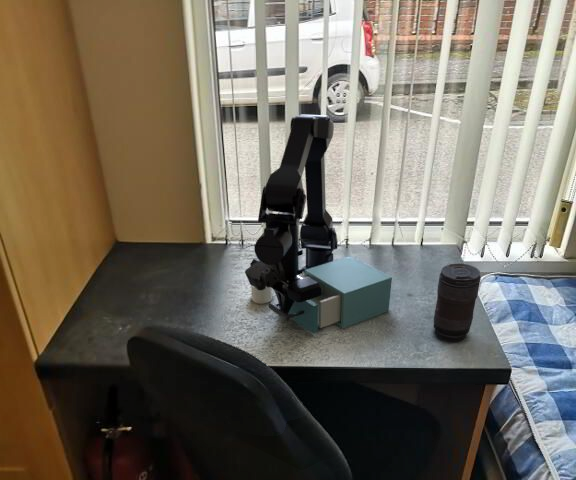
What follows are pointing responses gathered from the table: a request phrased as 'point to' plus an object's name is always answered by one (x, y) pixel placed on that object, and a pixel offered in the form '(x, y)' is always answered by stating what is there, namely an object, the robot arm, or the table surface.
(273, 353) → the table surface
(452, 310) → the camera lens
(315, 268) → the teal cabinet
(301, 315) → the drawer
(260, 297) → the label roll
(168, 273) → the table surface
